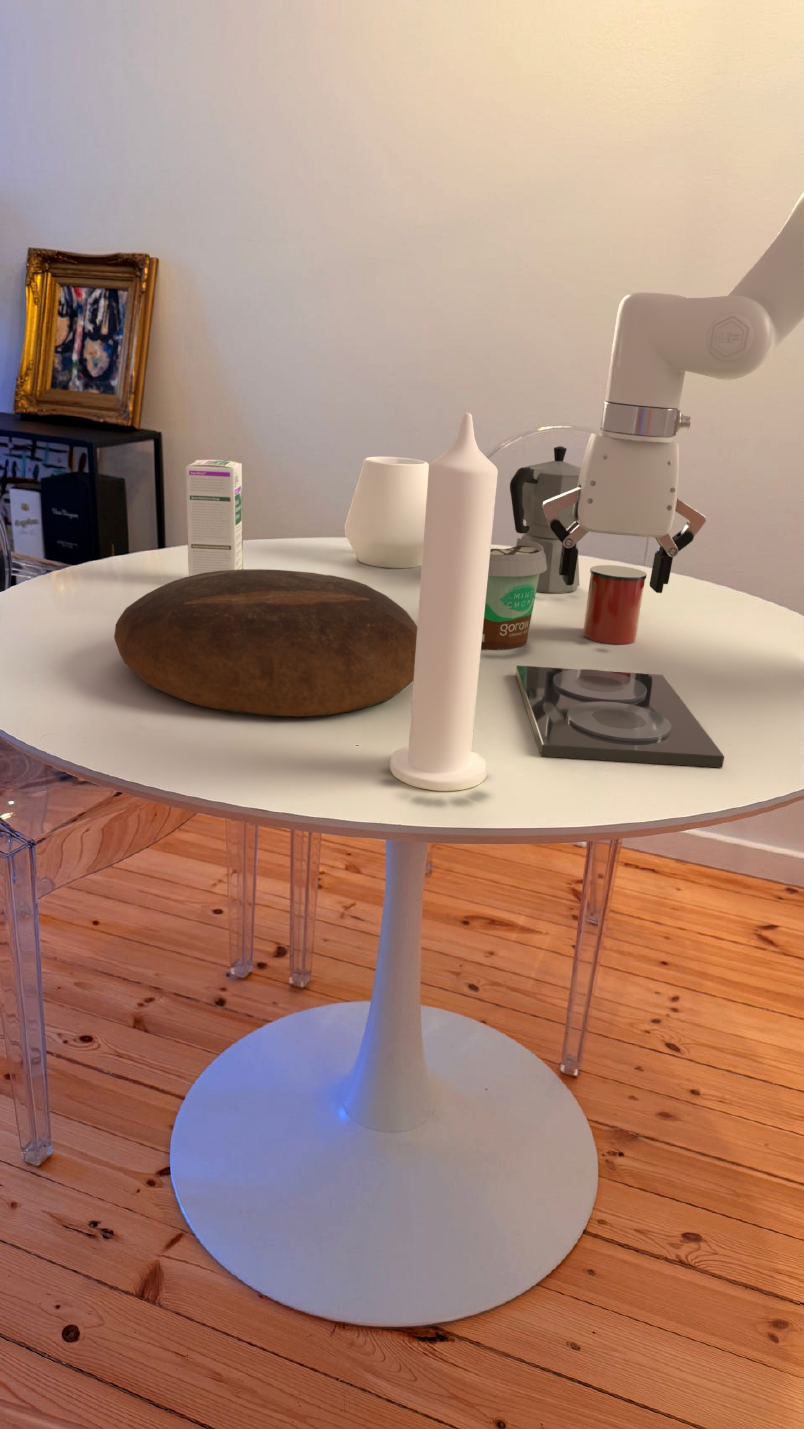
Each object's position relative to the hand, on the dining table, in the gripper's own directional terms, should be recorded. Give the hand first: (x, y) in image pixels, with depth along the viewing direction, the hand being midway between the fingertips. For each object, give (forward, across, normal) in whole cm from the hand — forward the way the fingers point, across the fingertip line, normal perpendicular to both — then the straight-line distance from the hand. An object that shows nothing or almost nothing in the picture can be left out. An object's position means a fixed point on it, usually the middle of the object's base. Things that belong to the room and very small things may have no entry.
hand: (611, 586), depth 108 cm
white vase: (+6, +24, -33) cm, 41 cm away
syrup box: (+7, +45, -13) cm, 48 cm away
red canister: (+6, -1, 0) cm, 6 cm away
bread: (+6, +34, +19) cm, 40 cm away
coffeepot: (+6, +4, -23) cm, 24 cm away
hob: (+6, +4, +26) cm, 27 cm away
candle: (+6, +19, +40) cm, 45 cm away
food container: (+6, +11, +5) cm, 14 cm away
